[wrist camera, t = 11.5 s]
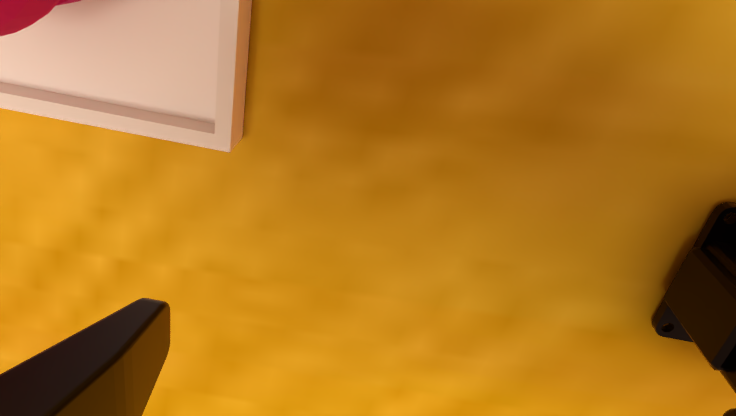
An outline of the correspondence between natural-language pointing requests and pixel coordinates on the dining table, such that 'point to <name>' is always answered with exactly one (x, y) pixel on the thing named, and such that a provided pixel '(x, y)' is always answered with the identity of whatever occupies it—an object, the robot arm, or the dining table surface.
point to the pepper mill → (24, 13)
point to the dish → (135, 68)
